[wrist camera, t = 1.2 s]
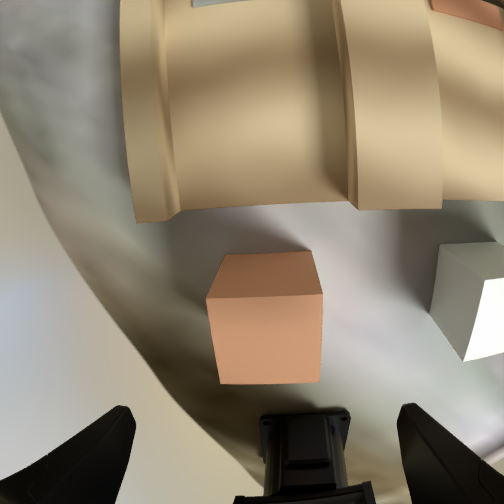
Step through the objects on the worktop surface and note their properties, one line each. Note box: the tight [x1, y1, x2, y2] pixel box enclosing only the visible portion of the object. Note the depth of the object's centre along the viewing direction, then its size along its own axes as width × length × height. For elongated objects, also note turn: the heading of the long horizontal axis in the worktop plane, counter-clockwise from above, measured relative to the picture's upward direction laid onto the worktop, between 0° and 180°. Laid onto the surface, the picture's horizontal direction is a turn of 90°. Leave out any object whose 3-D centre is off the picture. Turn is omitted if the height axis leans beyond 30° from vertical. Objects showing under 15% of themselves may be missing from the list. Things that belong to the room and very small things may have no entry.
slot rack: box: [120, 0, 504, 224], centre depth 12 cm, size 12×23×3 cm, turn 95°
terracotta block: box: [206, 251, 323, 384], centre depth 15 cm, size 4×4×5 cm
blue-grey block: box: [429, 242, 504, 362], centre depth 14 cm, size 4×4×5 cm
